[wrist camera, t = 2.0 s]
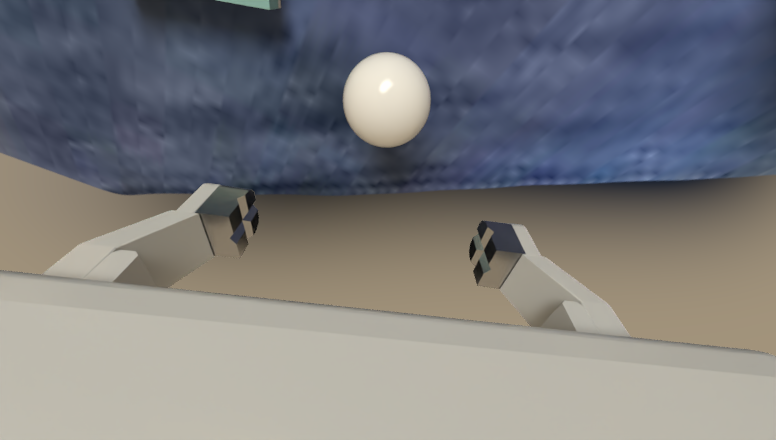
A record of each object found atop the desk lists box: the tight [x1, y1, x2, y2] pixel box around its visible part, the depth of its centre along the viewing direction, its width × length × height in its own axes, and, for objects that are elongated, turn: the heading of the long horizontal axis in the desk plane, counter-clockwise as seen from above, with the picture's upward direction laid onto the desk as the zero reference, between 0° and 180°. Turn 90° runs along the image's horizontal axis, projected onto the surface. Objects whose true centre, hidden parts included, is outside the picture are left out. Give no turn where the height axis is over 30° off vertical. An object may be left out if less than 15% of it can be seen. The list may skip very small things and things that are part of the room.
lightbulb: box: [343, 52, 431, 148], centre depth 22 cm, size 6×6×11 cm
